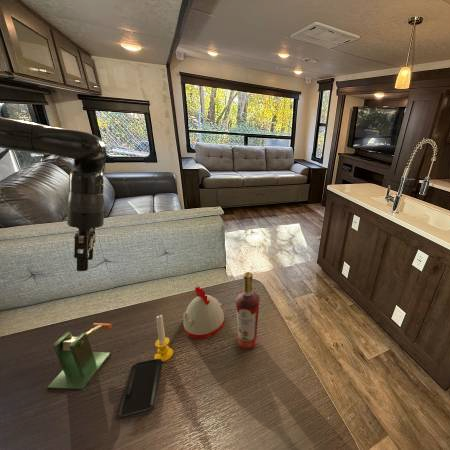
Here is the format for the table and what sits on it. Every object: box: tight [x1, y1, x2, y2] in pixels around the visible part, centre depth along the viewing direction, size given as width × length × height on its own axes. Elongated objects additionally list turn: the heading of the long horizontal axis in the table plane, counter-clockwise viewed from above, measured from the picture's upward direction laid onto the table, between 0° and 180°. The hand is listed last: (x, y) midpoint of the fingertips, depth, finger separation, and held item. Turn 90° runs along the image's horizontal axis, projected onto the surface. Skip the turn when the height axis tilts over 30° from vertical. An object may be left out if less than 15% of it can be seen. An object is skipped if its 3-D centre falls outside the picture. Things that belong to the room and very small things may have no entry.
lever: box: [63, 322, 113, 351], centre depth 71 cm, size 13×5×2 cm, turn 2°
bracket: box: [46, 331, 112, 391], centre depth 68 cm, size 11×9×13 cm
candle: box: [153, 314, 174, 363], centre depth 74 cm, size 5×5×16 cm
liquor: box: [235, 271, 260, 350], centre depth 79 cm, size 7×7×28 cm
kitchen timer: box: [182, 286, 225, 339], centre depth 87 cm, size 14×14×15 cm
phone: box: [118, 358, 163, 419], centre depth 68 cm, size 8×1×15 cm
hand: (85, 264), depth 70 cm, fingers open, 8 cm apart
